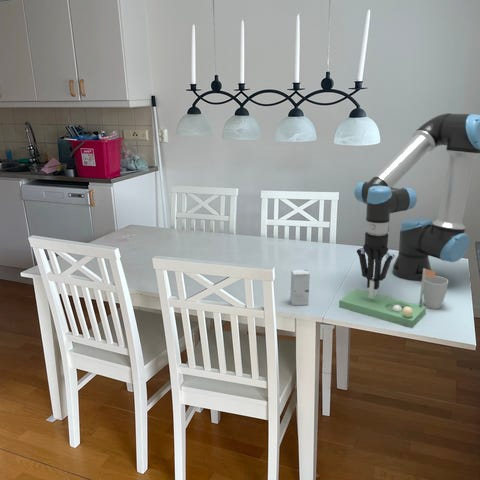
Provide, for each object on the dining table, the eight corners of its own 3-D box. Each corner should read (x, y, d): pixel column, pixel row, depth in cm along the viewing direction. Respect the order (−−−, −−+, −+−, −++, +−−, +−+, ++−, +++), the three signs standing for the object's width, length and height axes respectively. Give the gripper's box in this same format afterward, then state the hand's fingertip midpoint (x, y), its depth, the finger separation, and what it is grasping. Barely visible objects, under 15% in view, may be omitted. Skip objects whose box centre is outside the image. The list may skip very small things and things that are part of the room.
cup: (439, 300, 176) (442, 275, 173) (449, 310, 168) (452, 283, 165) (416, 301, 175) (419, 275, 172) (425, 311, 168) (428, 284, 165)
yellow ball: (403, 313, 161) (404, 303, 160) (414, 315, 159) (415, 306, 158) (400, 316, 158) (401, 307, 157) (410, 319, 156) (411, 310, 155)
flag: (419, 306, 166) (423, 268, 161) (431, 309, 163) (435, 270, 159) (418, 307, 165) (422, 268, 161) (430, 310, 163) (435, 271, 158)
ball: (393, 303, 167) (402, 303, 165) (395, 312, 168) (404, 312, 166) (389, 307, 165) (399, 307, 162) (391, 316, 165) (401, 316, 163)
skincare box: (292, 305, 173) (292, 274, 170) (289, 300, 177) (290, 269, 174) (309, 305, 174) (310, 273, 170) (306, 299, 178) (307, 269, 174)
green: (339, 306, 172) (339, 300, 171) (355, 294, 182) (355, 288, 181) (411, 327, 156) (412, 320, 156) (425, 313, 166) (426, 306, 165)
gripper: (353, 232, 164) (350, 295, 171) (391, 238, 156) (386, 305, 163) (363, 226, 170) (359, 288, 177) (399, 233, 162) (394, 297, 169)
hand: (372, 296), depth 170 cm, fingers closed
